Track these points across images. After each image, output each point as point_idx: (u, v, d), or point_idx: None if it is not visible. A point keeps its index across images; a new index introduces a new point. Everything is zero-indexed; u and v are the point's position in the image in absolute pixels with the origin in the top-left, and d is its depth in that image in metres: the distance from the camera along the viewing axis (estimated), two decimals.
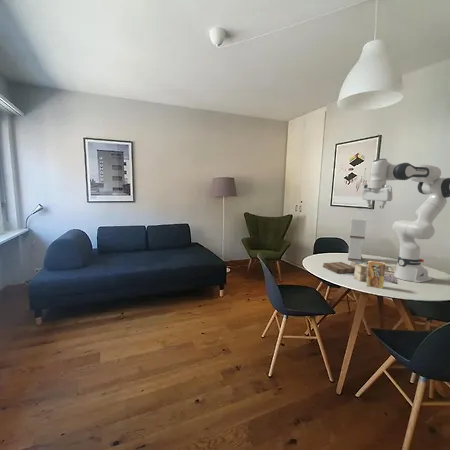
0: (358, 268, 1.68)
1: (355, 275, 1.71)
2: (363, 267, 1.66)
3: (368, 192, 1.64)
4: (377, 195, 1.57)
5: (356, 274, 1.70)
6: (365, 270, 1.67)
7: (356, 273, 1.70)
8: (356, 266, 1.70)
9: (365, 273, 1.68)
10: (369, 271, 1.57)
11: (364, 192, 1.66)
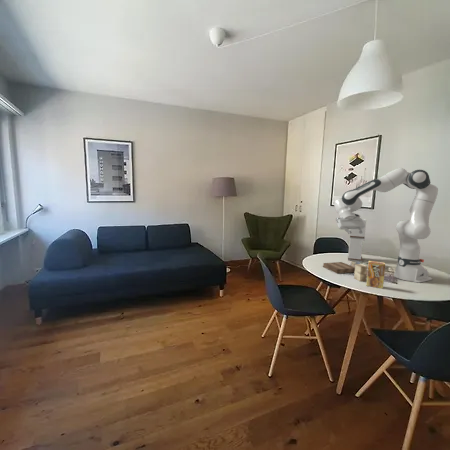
0: (358, 268, 1.68)
1: (355, 275, 1.71)
2: (363, 267, 1.66)
3: None
4: None
5: (356, 274, 1.70)
6: (365, 270, 1.67)
7: (356, 273, 1.70)
8: (356, 266, 1.70)
9: (365, 273, 1.67)
10: (369, 271, 1.57)
11: None
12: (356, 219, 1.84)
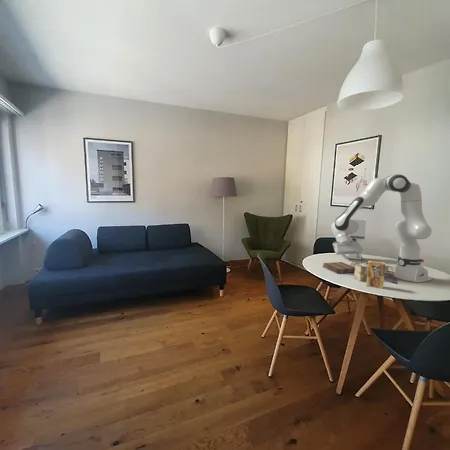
0: (358, 268, 1.68)
1: (355, 275, 1.71)
2: (363, 267, 1.66)
3: None
4: None
5: (356, 274, 1.70)
6: (365, 270, 1.67)
7: (356, 273, 1.70)
8: (356, 266, 1.70)
9: (365, 273, 1.68)
10: (369, 271, 1.57)
11: None
12: (353, 243, 1.82)
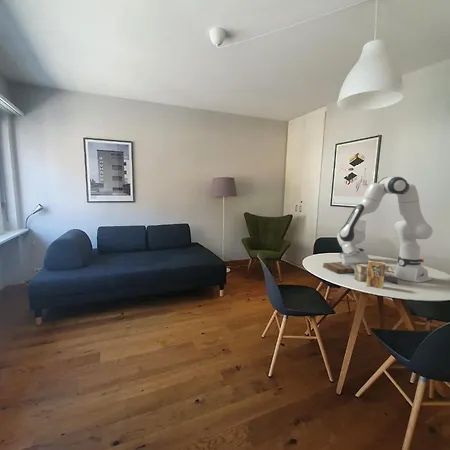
0: (358, 268, 1.68)
1: (355, 275, 1.71)
2: (363, 267, 1.66)
3: None
4: None
5: (356, 274, 1.70)
6: (365, 270, 1.67)
7: (356, 273, 1.70)
8: (356, 266, 1.70)
9: (365, 273, 1.67)
10: (369, 271, 1.57)
11: None
12: (360, 254, 1.75)
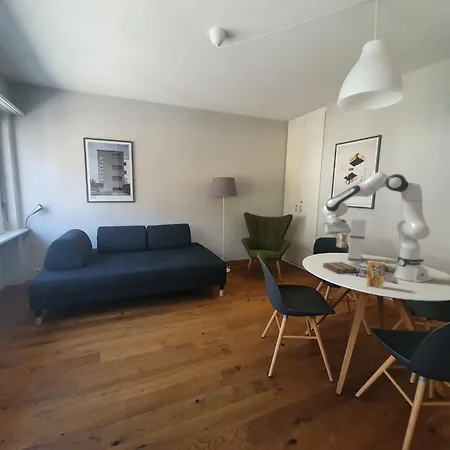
0: (339, 236, 1.86)
1: (337, 243, 1.88)
2: (344, 235, 1.84)
3: None
4: None
5: (338, 241, 1.88)
6: (346, 238, 1.85)
7: (338, 241, 1.88)
8: (338, 234, 1.87)
9: (346, 240, 1.85)
10: (369, 271, 1.57)
11: None
12: (342, 224, 1.93)
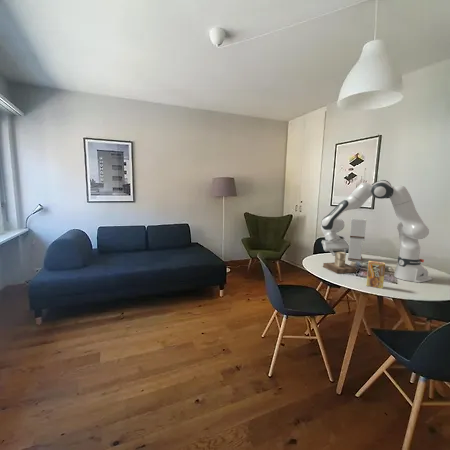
0: (337, 255, 1.89)
1: (335, 261, 1.92)
2: (342, 254, 1.87)
3: None
4: None
5: (336, 260, 1.91)
6: (344, 257, 1.88)
7: (336, 260, 1.91)
8: (336, 253, 1.91)
9: (344, 259, 1.88)
10: (369, 271, 1.57)
11: None
12: (340, 241, 1.96)
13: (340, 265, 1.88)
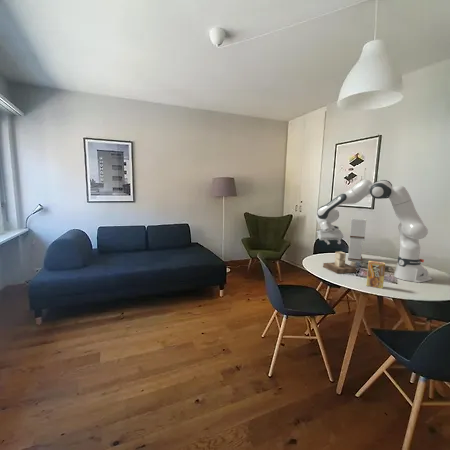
0: (337, 255, 1.89)
1: (335, 261, 1.92)
2: (342, 254, 1.87)
3: None
4: None
5: (336, 260, 1.91)
6: (344, 257, 1.88)
7: (336, 260, 1.91)
8: (336, 253, 1.91)
9: (344, 259, 1.88)
10: (369, 271, 1.57)
11: None
12: (335, 231, 2.02)
13: (340, 265, 1.88)
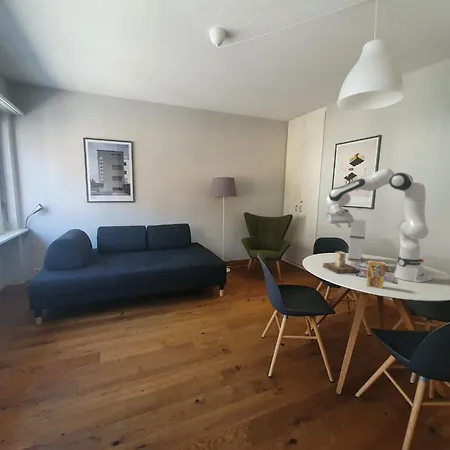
0: (337, 255, 1.89)
1: (335, 261, 1.92)
2: (342, 254, 1.87)
3: None
4: None
5: (336, 260, 1.91)
6: (344, 257, 1.88)
7: (336, 260, 1.91)
8: (336, 253, 1.91)
9: (344, 259, 1.88)
10: (369, 271, 1.57)
11: None
12: (345, 214, 1.97)
13: (340, 265, 1.88)
